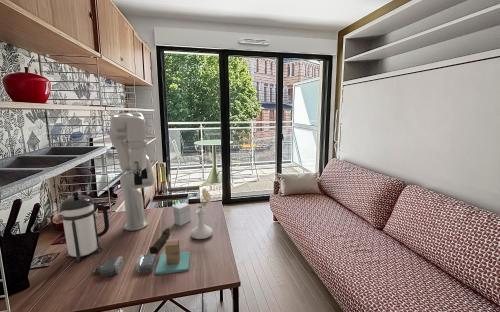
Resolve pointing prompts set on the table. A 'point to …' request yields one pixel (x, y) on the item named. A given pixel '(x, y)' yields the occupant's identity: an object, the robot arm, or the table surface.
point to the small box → (182, 213)
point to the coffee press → (81, 225)
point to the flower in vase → (202, 229)
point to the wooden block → (172, 251)
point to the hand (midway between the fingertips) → (141, 181)
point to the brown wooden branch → (160, 241)
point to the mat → (180, 267)
